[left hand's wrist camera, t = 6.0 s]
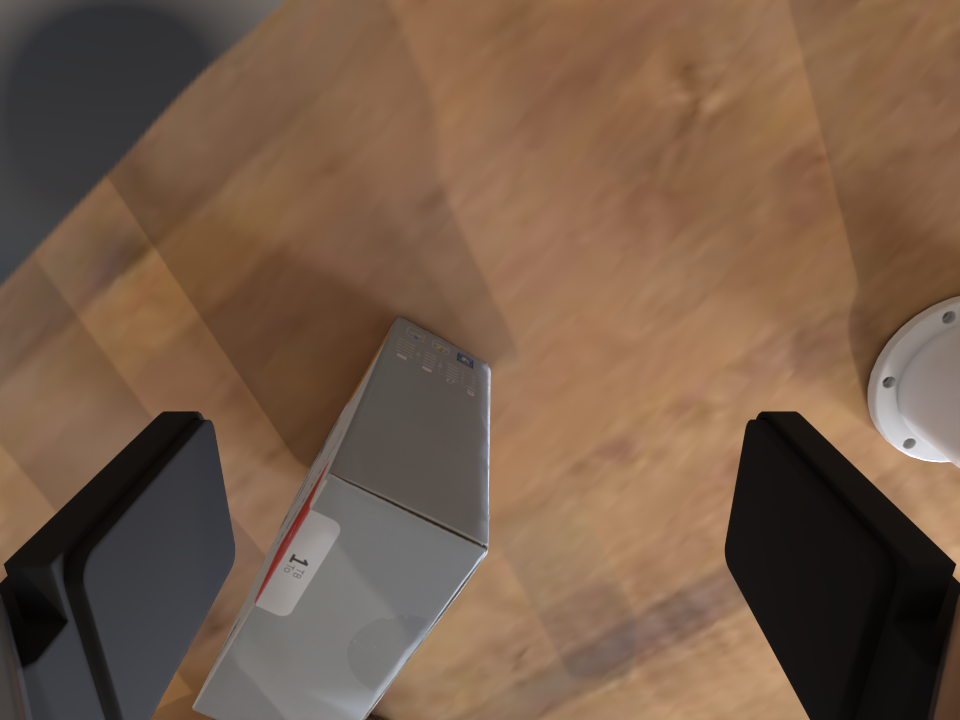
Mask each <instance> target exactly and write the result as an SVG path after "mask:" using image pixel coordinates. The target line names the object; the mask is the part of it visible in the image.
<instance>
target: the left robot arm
mask: <svg viewBox="0 0 960 720" xmlns="http://www.w3.org/2000/svg"><path fill="white" fill-rule="evenodd" d="M868 408H869V412H870V417H871V419H872V421H873V423H874V425H875V427H876V429H877V430H878V431H879V432H880V434H881V435H882V436H883V437H884V438H885V439H886V440H887V441H888V442H889V443H891V444H892V445H893V446H894V447H896V448H897V449H898V450H900V451H902V452H904V453H905V454H907V455H909V456H911V457H915V458H918V459H921V460H925V461H935V462H950V461H951V462H953V463H954V464H955V465H957V466H958V467H959V468H960V296H957V297H953V298H950V299H947V300H945V301H943V302H940V303H938V304H935V305H933V306H931V307H929V308H928V309H926V310H924V311H923V312H921V313H919V314H918V315H916V316H915V317H914V318H912V319H911V320H910V321H909V322H907V323H906V324H905V325H904V326H903V327H901V328H900V329H899V330H898V332H897V333H896V334H895V335H894V336H893V337H892V338H891V339H890V340H889V341H888V343H887V344H886V346H885V347H884V349H883V350H882V352H881V353H880V355H879V356H878V358H877V361H876V363H875V365H874V368H873V370H872V372H871V376H870V381H869V385H868ZM234 558H235V543H234V537H233V531H232V526H231V520H230V514H229V508H228V503H227V497H226V491H225V486H224V480H223V474H222V469H221V463H220V457H219V452H218V446H217V440H216V435H215V429H214V425H213V423H212V421H210V420H204V418H203V416H202V414H201V413H199V412H162V413H161V414H160V415H159V416H157V417H156V418H155V419H154V420H153V421H152V422H151V423H150V424H149V425H148V426H147V427H146V428H145V429H144V430H143V431H142V432H141V433H140V434H139V435H138V436H137V437H136V438H135V439H134V440H132V441H131V442H130V443H129V444H128V445H127V446H126V447H125V448H124V449H123V450H122V451H121V452H120V453H119V454H118V455H117V456H116V457H115V458H114V459H113V460H112V461H111V462H110V463H109V464H108V465H106V466H105V467H104V468H103V469H102V470H101V471H100V472H99V473H98V474H97V475H96V476H95V477H94V478H93V479H92V480H91V481H90V482H89V483H88V484H87V485H86V486H85V487H84V488H83V489H82V490H80V491H79V492H78V493H77V494H76V495H75V496H74V497H73V498H72V499H71V500H70V501H69V502H68V503H67V504H66V505H65V506H64V507H63V508H62V509H61V510H60V511H59V512H58V513H57V514H55V515H54V516H53V517H52V518H51V519H50V520H49V521H48V522H47V523H46V524H45V525H44V526H43V527H42V528H41V529H40V530H39V531H38V532H37V533H36V534H35V535H34V536H33V537H32V538H31V539H29V540H28V541H27V542H26V543H25V544H24V545H23V546H22V547H21V548H20V549H19V550H18V551H17V552H16V553H15V554H14V555H13V556H12V557H11V558H10V559H9V560H8V561H7V562H6V563H5V564H4V567H5V569H6V572H7V575H8V576H7V577H6V578H5V579H4V580H3V581H2V582H1V583H0V720H150V719H151V717H152V715H153V713H154V711H155V709H156V707H157V706H158V704H159V702H160V700H161V698H162V696H163V694H164V693H165V691H166V689H167V687H168V685H169V683H170V681H171V680H172V678H173V676H174V674H175V672H176V670H177V668H178V667H179V665H180V663H181V661H182V659H183V657H184V655H185V654H186V652H187V650H188V648H189V646H190V644H191V642H192V641H193V639H194V637H195V635H196V633H197V631H198V629H199V628H200V626H201V624H202V622H203V620H204V618H205V616H206V615H207V613H208V611H209V609H210V607H211V605H212V603H213V602H214V600H215V598H216V596H217V594H218V592H219V590H220V589H221V587H222V585H223V583H224V581H225V579H226V577H227V576H228V574H229V572H230V570H231V568H232V566H233V562H234ZM725 558H726V562H727V566H728V568H729V570H730V572H731V574H732V576H733V577H734V579H735V581H736V583H737V585H738V587H739V589H740V590H741V592H742V594H743V596H744V598H745V600H746V602H747V603H748V605H749V607H750V609H751V611H752V613H753V615H754V616H755V618H756V620H757V622H758V624H759V626H760V628H761V629H762V631H763V633H764V635H765V637H766V639H767V641H768V642H769V644H770V646H771V648H772V650H773V652H774V654H775V655H776V657H777V659H778V661H779V663H780V665H781V667H782V668H783V670H784V672H785V674H786V676H787V678H788V680H789V681H790V683H791V685H792V687H793V689H794V691H795V693H796V694H797V696H798V698H799V700H800V702H801V704H802V706H803V707H804V709H805V711H806V713H807V715H808V717H809V719H810V720H960V583H959V582H958V581H957V580H956V579H955V578H954V577H953V576H952V575H953V572H954V569H955V567H956V564H955V563H954V562H953V561H952V560H951V559H950V558H949V557H948V556H947V555H946V554H945V553H944V552H943V551H942V550H941V549H940V548H939V547H938V546H937V545H936V544H935V543H934V542H933V541H932V540H931V539H929V538H928V537H927V536H926V535H925V534H924V533H923V532H922V531H921V530H920V529H919V528H918V527H917V526H916V525H915V524H914V523H913V522H912V521H911V520H910V519H909V518H908V517H907V516H906V515H905V514H903V513H902V512H901V511H900V510H899V509H898V508H897V507H896V506H895V505H894V504H893V503H892V502H891V501H890V500H889V499H888V498H887V497H886V496H885V495H884V494H883V493H882V492H881V491H880V490H878V489H877V488H876V487H875V486H874V485H873V484H872V483H871V482H870V481H869V480H868V479H867V478H866V477H865V476H864V475H863V474H862V473H861V472H860V471H859V470H858V469H857V468H856V467H855V466H854V465H852V464H851V463H850V462H849V461H848V460H847V459H846V458H845V457H844V456H843V455H842V454H841V453H840V452H839V451H838V450H837V449H836V448H835V447H834V446H833V445H832V444H831V443H830V442H829V441H828V440H826V439H825V438H824V437H823V436H822V435H821V434H820V433H819V432H818V431H817V430H816V429H815V428H814V427H813V426H812V425H811V424H810V423H809V422H808V421H807V420H806V419H805V418H804V417H803V416H801V415H800V414H799V413H798V412H761V413H759V414H758V416H757V418H756V420H750V421H748V423H747V425H746V429H745V435H744V440H743V446H742V452H741V457H740V463H739V469H738V474H737V480H736V486H735V491H734V497H733V503H732V508H731V514H730V520H729V525H728V531H727V537H726V543H725Z"/></svg>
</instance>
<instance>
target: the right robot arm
mask: <svg viewBox="0 0 960 720" xmlns="http://www.w3.org/2000/svg"><path fill="white" fill-rule="evenodd" d="M365 720H383V719H381V718H379V717H377V716H375V715H372V714H369V715H368V716H367V717H366V719H365Z"/></svg>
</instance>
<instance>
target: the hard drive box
mask: <svg viewBox="0 0 960 720" xmlns="http://www.w3.org/2000/svg"><path fill="white" fill-rule="evenodd" d="M489 432H490V368H489V367H488V364H487V363H485V362H483V361H481V360H480V359H478V358H476V357H474V356H472V355H471V354H469V353H467V352H465V351H463V350H462V349H460V348H458V347H456V346H454V345H452V344H451V343H449V342H447V341H445V340H443V339H441V338H439V337H437V336H436V335H434V334H432V333H430V332H428V331H426V330H425V329H423V328H421V327H419V326H417V325H415V324H413V323H411V322H409V321H408V320H406V319H404V318H402V317H397V318H396V319H395V321H394V322H393V324H392V326H391V327H390V329H389V331H388V333H387V334H386V336H385V338H384V340H383V341H382V343H381V345H380V347H379V348H378V350H377V352H376V354H375V355H374V357H373V359H372V361H371V362H370V364H369V366H368V368H367V369H366V371H365V373H364V375H363V376H362V378H361V380H360V382H359V383H358V385H357V387H356V388H355V390H354V392H353V394H352V395H351V397H350V399H349V401H348V402H347V404H346V406H345V408H344V409H343V411H342V413H341V415H340V416H339V418H338V420H337V422H336V423H335V425H334V427H333V429H332V430H331V432H330V434H329V436H328V437H327V439H326V441H325V442H324V444H323V446H322V448H321V449H320V451H319V453H318V455H317V457H316V458H315V460H314V462H313V464H312V466H311V467H310V469H309V471H308V473H307V474H306V476H305V478H304V480H303V482H302V484H301V486H300V488H299V490H298V492H297V494H296V496H295V498H294V500H293V502H292V504H291V506H290V508H289V510H288V512H287V514H286V516H285V518H284V520H283V522H282V525H281V527H280V529H279V531H278V533H277V535H276V537H275V539H274V541H273V543H272V545H271V548H270V550H269V552H268V554H267V556H266V558H265V560H264V562H263V564H262V566H261V568H260V570H259V572H258V574H257V577H256V579H255V581H254V583H253V585H252V587H251V589H250V591H249V593H248V595H247V597H246V599H245V601H244V603H243V605H242V607H241V609H240V612H239V614H238V616H237V618H236V620H235V622H234V624H233V626H232V628H231V630H230V632H229V634H228V636H227V638H226V640H225V642H224V644H223V646H222V648H221V650H220V653H219V655H218V657H217V659H216V661H215V663H214V665H213V667H212V669H211V671H210V673H209V675H208V677H207V679H206V681H205V683H204V685H203V687H202V689H201V691H200V693H199V695H198V697H197V699H196V701H195V703H194V704H193V706H192V709H193V710H195V711H197V712H199V713H201V714H203V715H206V716H209V717H211V718H214V719H216V720H365V719H366V717H367V716H368V715H369V713H370V712H371V711H372V709H373V708H374V707H375V705H376V704H377V703H378V701H379V700H380V698H381V697H382V696H383V694H384V693H385V691H386V690H387V689H388V687H389V686H390V685H391V683H392V682H393V681H394V679H395V678H396V677H397V675H398V674H399V673H400V671H401V670H402V669H403V667H404V666H405V665H406V663H407V662H408V660H409V659H410V658H411V656H412V655H413V654H414V652H415V651H416V650H417V649H418V647H419V646H420V644H421V643H422V642H423V640H424V639H425V638H426V636H427V635H428V634H429V632H430V631H431V630H432V628H433V627H434V626H435V624H436V623H437V622H438V620H439V619H440V618H441V616H442V615H443V614H444V613H445V611H446V610H447V609H448V607H449V606H450V605H451V603H452V602H453V601H454V599H455V598H456V597H457V595H458V594H459V593H460V591H461V590H462V588H463V587H464V586H465V584H466V583H467V581H468V580H469V579H470V577H471V576H472V574H473V573H474V572H475V570H476V569H477V567H478V566H479V564H480V563H481V561H482V560H483V558H484V557H485V556H486V554H487V549H488V533H489Z"/></svg>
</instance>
